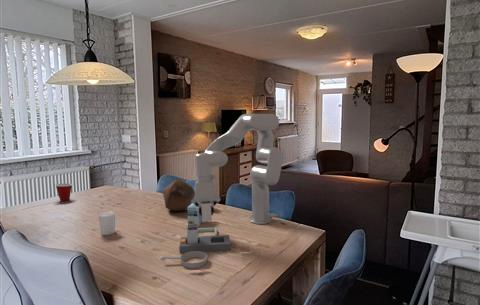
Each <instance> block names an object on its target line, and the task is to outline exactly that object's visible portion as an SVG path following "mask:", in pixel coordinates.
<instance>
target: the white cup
mask: <svg viewBox="0 0 480 305" xmlns="http://www.w3.org/2000/svg"><path fill="white" fill-rule="evenodd" d="M98 222H99V228H100V229H99V230H100V234H101V235H102V236H109V235H113V234H115V233H116V212H114V211H104V212H101V213H99V214H98Z"/></svg>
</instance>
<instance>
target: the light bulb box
mask: <svg viewBox="0 0 480 305" xmlns="http://www.w3.org/2000/svg"><path fill="white" fill-rule="evenodd" d="M197 203H199V202H197ZM186 211H187V212H186V213H187V226H188V225H191V224H197V226H198V227H199V226H201V225H202V224H203V223H204V222H202V216H201V214H199V208H198V207H197V206H196V205H195V204H193V203H192V204H191V205H190V206H188V207H187V209H186Z"/></svg>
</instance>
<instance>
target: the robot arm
mask: <svg viewBox="0 0 480 305" xmlns="http://www.w3.org/2000/svg"><path fill="white" fill-rule="evenodd" d="M279 124H280V118H279V117H278V116H277V114H274V113H243V114H242V115H240V116H239V117H238V119H237V120H235V122H234V123H233V124H232V125H231V126H230V127H229V130H227V132H225V133H224V134H222V135H220V136H219V137H217V138H216V139H214V141H212V142H211V143H210V144H209V146H207V148H206V149H205V150H204V152H199V153H196V154H195V158H194V160H195V172H196V173H195V174H196V181H195V182H194V191H195V196H194V197H193V199H192V200H191V203H193V204H195V205H196V206H197V207H198V208H199V214H201V216H202V208H201V202H205V201H210V203H211V216H213V215H214V213H215V208H214V207H215V206H217V204H218V203H219V202H220V201H221V198H220V196H219V195H218V194H217V193H216V192H217V190H216V183H215V180H214V179H216V175H213V169H212V168H221V167H223V166H225V165H226V164H228V161H229V157H228V155H227V154H226V153H225V152H223V151H224V150H226V149H228V148H231V147H234V146H237V145H238V144H240V143H241V142H242V141H243V139H244V138H245V137H246V136H247V134H248V133H249V132H250V131H256V133H257V136H258V137H257V138H258V139H257V146H256V151H255V159H256V161H257V162H259V163H261V164H258V165H257V164H256V165H254V166H253V167H252V168H251V169H250V174H249V175H250V176H249V177H250V181H251V216H250V217H249V220H248V221H250V222H251V223H252V224H257V225H265V224H269V223H271V222H272V221H273V220H272V218H278V213H274V212H272V213H270V188H269V185H270V186H274V185H276V184H277V183H278V182H279V180H280V177H281V170H282V164H283V159H284V158H283V157H284V156H283V152H282V150H281V149H280V148H278V147H274V140H275V139H274V134H273V132H272V131H275V130H276V129H277V128H278V127H279ZM262 164H267V165H262ZM197 202H199V203H197Z"/></svg>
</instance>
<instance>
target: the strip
mask: <svg viewBox="0 0 480 305" xmlns="http://www.w3.org/2000/svg"><path fill="white" fill-rule="evenodd" d="M178 248H179V249H178V250H179V254H185V253H187V252H191V251H201V252H204V253H207V252H208V253H209V252H210V253H211V252H227V251H231V249H232V248H231V239H230V235H229V234H225V235H223V234H222V235H218V234H217V236H209V235H198V244H187V236H182V237H180V242H179V247H178Z"/></svg>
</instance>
